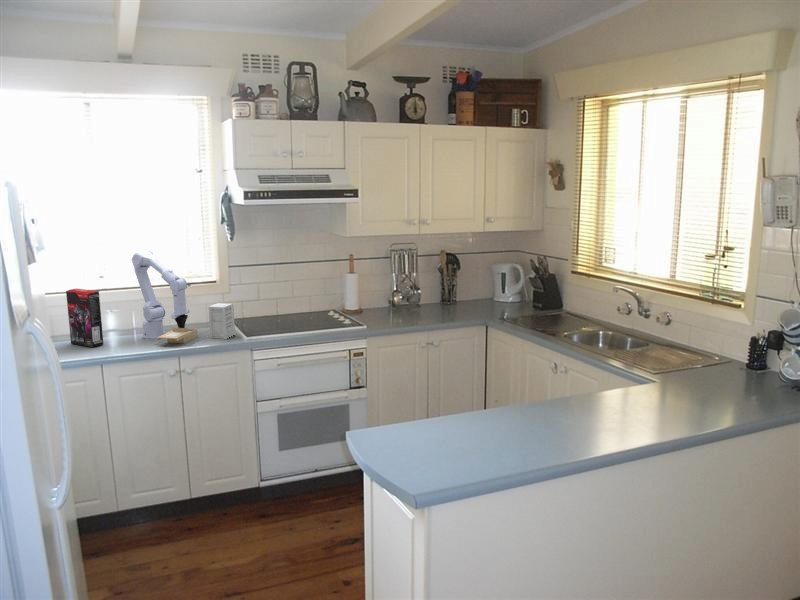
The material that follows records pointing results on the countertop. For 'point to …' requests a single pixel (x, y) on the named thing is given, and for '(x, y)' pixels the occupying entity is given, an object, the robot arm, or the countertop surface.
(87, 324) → the graphics card box
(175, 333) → the kraft lid
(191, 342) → the slate mat
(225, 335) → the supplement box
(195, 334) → the kraft box
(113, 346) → the countertop surface
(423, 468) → the countertop surface
